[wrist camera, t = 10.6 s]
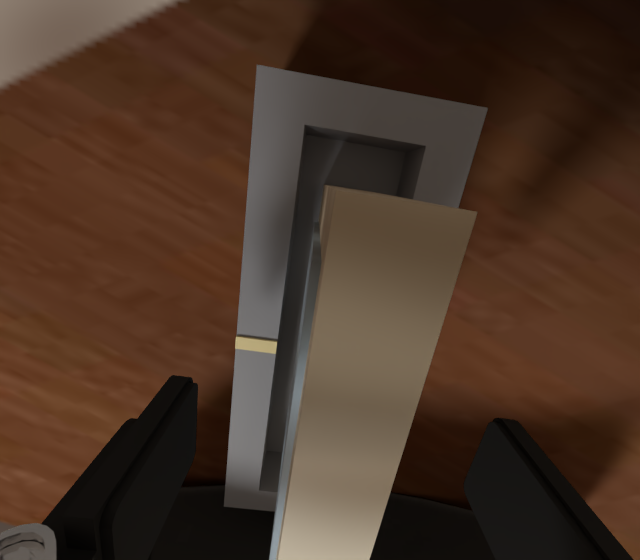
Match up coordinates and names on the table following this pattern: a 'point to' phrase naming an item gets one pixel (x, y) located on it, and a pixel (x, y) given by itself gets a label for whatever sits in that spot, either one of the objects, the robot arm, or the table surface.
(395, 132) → the gray rectangular tray
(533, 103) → the table surface
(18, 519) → the table surface
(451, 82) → the table surface
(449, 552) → the magazine
